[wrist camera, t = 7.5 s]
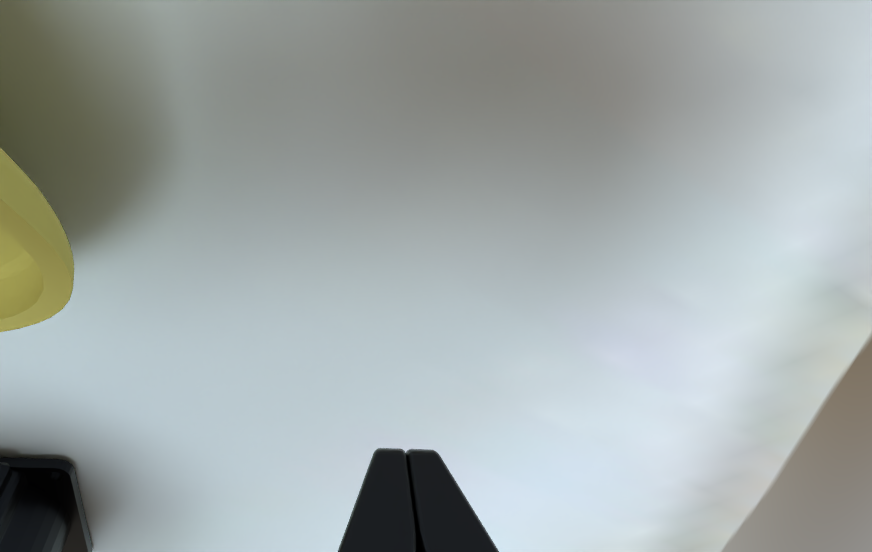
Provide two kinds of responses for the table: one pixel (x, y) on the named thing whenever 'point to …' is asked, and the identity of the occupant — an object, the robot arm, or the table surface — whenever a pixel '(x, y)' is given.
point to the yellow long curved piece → (30, 252)
